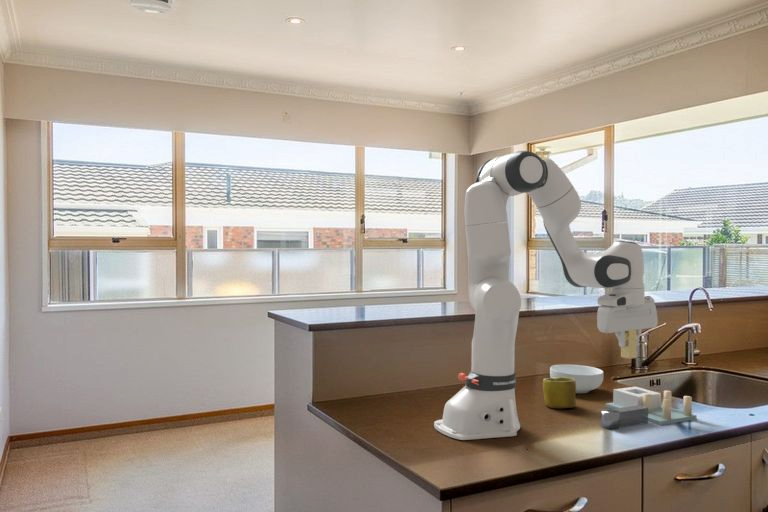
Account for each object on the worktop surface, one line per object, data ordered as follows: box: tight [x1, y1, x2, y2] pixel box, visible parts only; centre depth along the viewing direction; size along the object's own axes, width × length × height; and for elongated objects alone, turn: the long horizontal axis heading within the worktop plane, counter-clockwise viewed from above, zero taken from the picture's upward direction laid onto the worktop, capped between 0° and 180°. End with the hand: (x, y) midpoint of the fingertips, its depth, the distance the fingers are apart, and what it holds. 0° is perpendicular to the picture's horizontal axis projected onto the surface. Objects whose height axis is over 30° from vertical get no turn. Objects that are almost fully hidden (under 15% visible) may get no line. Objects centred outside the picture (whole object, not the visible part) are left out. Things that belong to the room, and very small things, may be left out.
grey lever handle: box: [600, 405, 649, 430], centre depth 155 cm, size 14×5×4 cm, turn 115°
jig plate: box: [604, 386, 698, 426], centre depth 166 cm, size 14×19×6 cm
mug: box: [542, 377, 577, 410], centre depth 173 cm, size 12×10×10 cm
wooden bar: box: [620, 330, 638, 359], centre depth 168 cm, size 3×3×8 cm
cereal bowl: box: [549, 363, 604, 394], centre depth 191 cm, size 17×17×7 cm
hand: (628, 345), depth 168 cm, fingers closed on wooden bar, 3 cm apart
